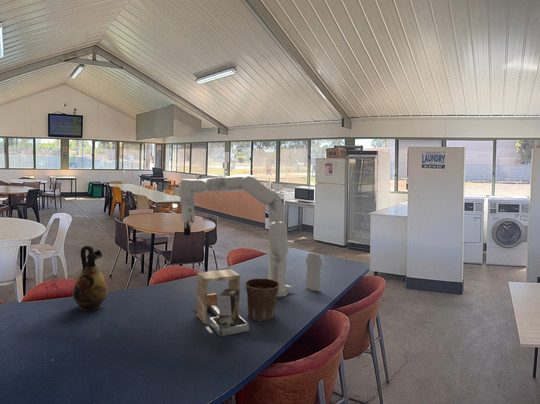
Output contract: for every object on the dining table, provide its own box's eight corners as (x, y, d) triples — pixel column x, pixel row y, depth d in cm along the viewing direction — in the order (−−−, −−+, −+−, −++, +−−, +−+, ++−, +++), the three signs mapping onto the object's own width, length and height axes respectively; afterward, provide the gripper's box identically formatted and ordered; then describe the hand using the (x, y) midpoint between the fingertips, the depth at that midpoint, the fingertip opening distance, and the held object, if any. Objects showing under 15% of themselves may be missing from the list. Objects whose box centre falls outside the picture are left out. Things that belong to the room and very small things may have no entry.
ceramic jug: (114, 304, 189) (114, 245, 186) (88, 315, 175) (87, 251, 172) (90, 298, 196) (89, 241, 193) (63, 308, 182) (62, 247, 180)
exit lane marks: (243, 320, 174) (243, 320, 174) (249, 325, 169) (249, 325, 169) (205, 327, 166) (205, 327, 166) (210, 333, 160) (210, 332, 160)
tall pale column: (303, 288, 224) (304, 251, 221) (306, 286, 227) (308, 250, 225) (318, 292, 217) (320, 254, 215) (322, 290, 220) (323, 253, 218)
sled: (221, 304, 192) (221, 292, 192) (248, 330, 163) (249, 316, 163) (196, 308, 186) (196, 295, 186) (220, 336, 157) (220, 321, 157)
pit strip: (224, 305, 193) (224, 304, 193) (226, 307, 190) (226, 306, 190) (193, 310, 185) (193, 309, 185) (195, 312, 183) (195, 311, 183)
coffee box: (232, 333, 161) (233, 296, 160) (218, 331, 163) (218, 294, 161) (238, 324, 170) (239, 289, 169) (224, 322, 172) (225, 288, 170)
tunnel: (230, 309, 187) (231, 269, 185) (239, 317, 177) (240, 275, 176) (196, 315, 179) (197, 272, 177) (204, 324, 170) (204, 279, 168)
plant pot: (282, 312, 185) (284, 280, 184) (272, 325, 170) (273, 290, 168) (251, 307, 190) (252, 276, 189) (238, 319, 175) (239, 285, 174)
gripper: (198, 203, 202) (197, 237, 203) (190, 200, 215) (190, 232, 217) (184, 203, 198) (184, 238, 200) (177, 200, 211) (176, 233, 213)
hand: (187, 235), depth 208 cm, fingers closed
